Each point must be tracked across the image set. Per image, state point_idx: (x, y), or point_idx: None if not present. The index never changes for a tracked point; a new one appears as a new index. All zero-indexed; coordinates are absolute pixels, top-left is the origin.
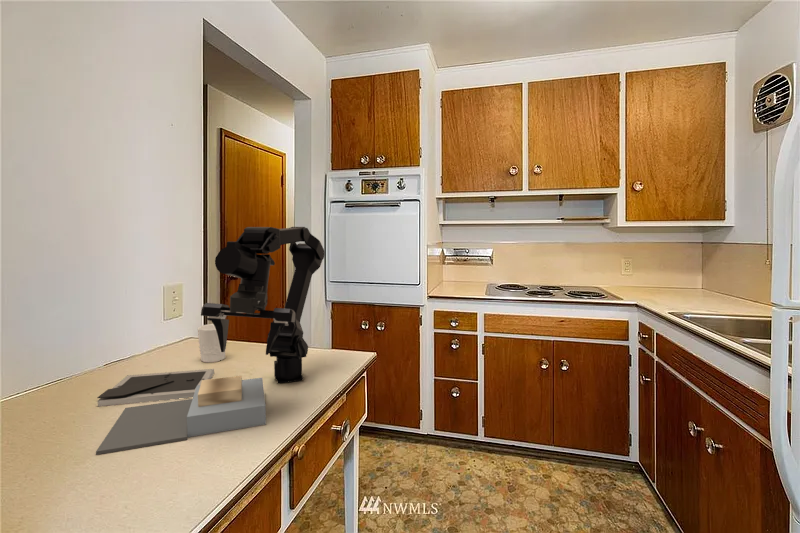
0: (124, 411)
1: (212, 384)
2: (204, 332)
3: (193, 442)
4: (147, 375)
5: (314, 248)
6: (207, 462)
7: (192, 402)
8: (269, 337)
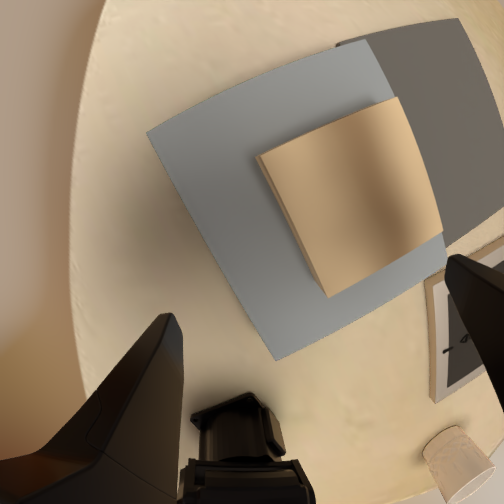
0: None
1: (397, 193)
2: (483, 466)
3: (312, 34)
4: None
5: None
6: None
7: None
8: (117, 402)
